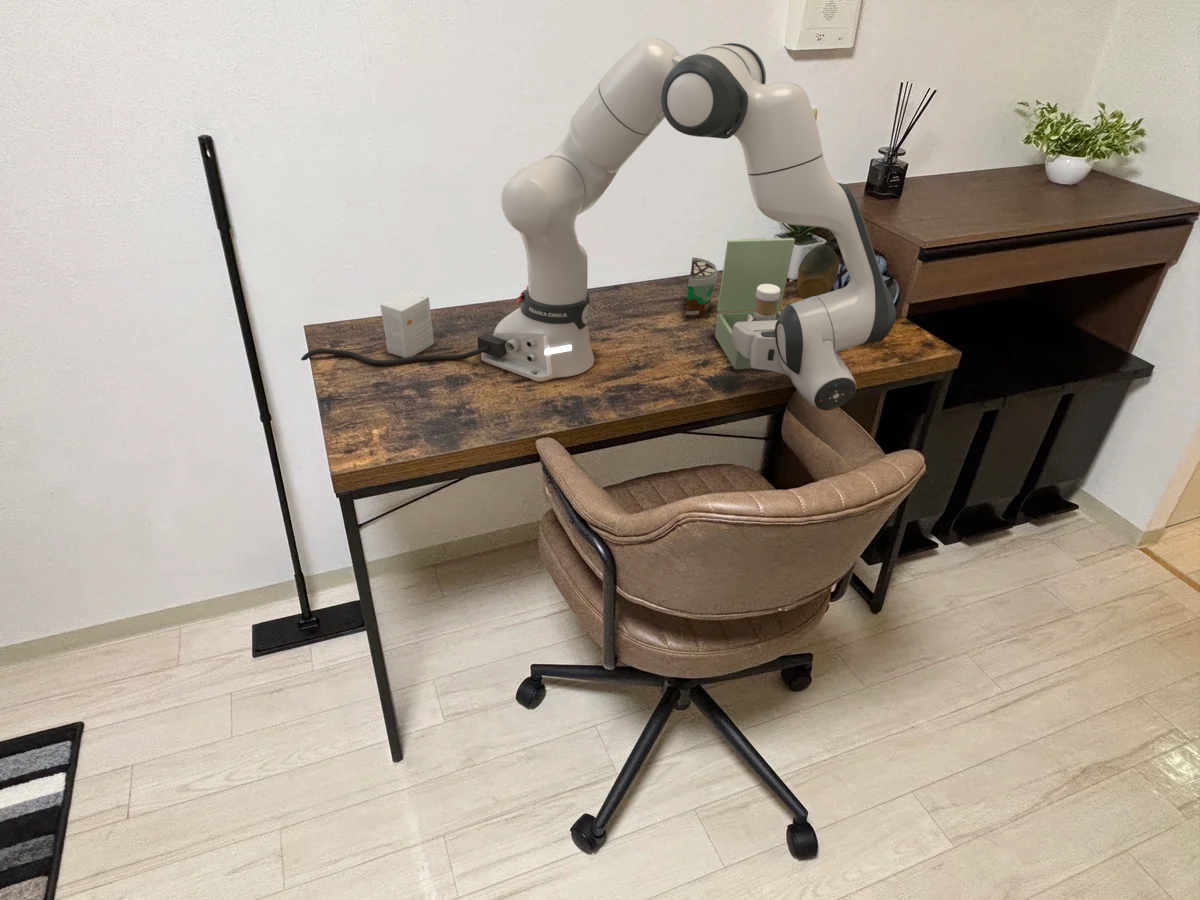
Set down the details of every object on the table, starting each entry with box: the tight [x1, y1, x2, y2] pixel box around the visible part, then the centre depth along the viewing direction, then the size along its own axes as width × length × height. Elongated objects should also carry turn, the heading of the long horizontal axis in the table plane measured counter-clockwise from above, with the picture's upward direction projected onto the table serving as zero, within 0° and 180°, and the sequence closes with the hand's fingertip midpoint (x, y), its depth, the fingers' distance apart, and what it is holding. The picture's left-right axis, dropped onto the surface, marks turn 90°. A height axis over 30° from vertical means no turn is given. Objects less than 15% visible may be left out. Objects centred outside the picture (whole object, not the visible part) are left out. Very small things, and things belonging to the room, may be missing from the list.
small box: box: [380, 290, 435, 358], centre depth 152 cm, size 8×6×10 cm
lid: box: [717, 237, 796, 313], centre depth 158 cm, size 15×14×5 cm
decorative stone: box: [796, 243, 840, 300], centre depth 172 cm, size 10×6×15 cm, turn 104°
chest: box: [714, 309, 782, 370], centre depth 157 cm, size 15×14×5 cm
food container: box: [684, 257, 719, 319], centre depth 171 cm, size 12×6×10 cm, turn 171°
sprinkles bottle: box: [753, 284, 780, 321], centre depth 153 cm, size 5×5×13 cm
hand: (774, 316), depth 148 cm, fingers open, 8 cm apart
